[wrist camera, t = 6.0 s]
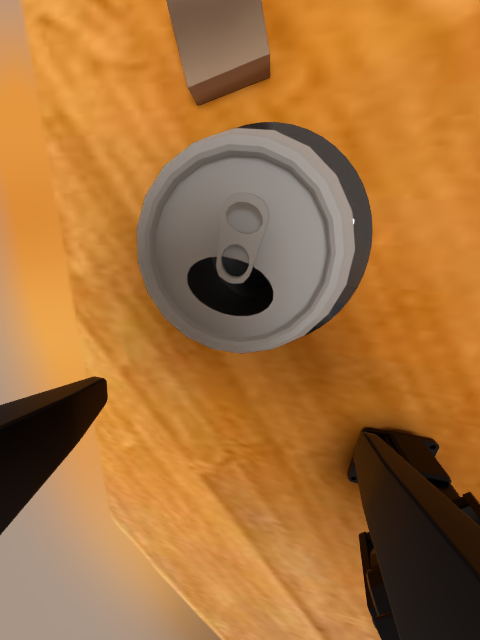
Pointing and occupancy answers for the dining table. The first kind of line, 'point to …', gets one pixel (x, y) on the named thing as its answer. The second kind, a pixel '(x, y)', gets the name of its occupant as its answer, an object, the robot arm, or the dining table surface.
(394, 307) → the dining table surface
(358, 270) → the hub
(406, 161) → the dining table surface
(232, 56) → the walnut block
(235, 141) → the can
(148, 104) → the dining table surface
